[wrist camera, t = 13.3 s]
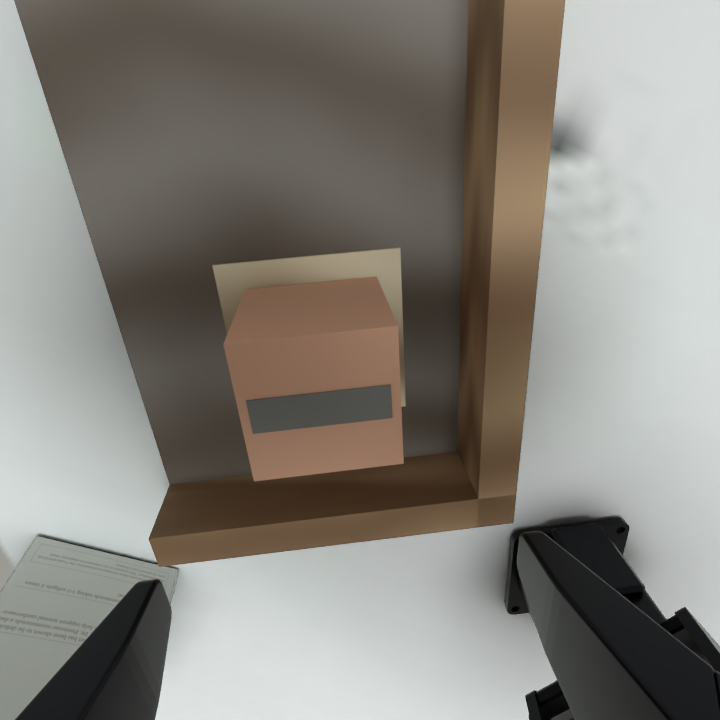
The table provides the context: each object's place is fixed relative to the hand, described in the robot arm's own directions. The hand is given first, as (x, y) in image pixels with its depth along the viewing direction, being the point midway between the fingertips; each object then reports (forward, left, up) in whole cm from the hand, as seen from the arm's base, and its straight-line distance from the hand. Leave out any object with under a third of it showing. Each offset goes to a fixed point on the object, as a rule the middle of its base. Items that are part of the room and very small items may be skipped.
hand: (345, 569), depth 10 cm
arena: (+2, 0, -12) cm, 12 cm away
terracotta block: (0, 0, -11) cm, 11 cm away
